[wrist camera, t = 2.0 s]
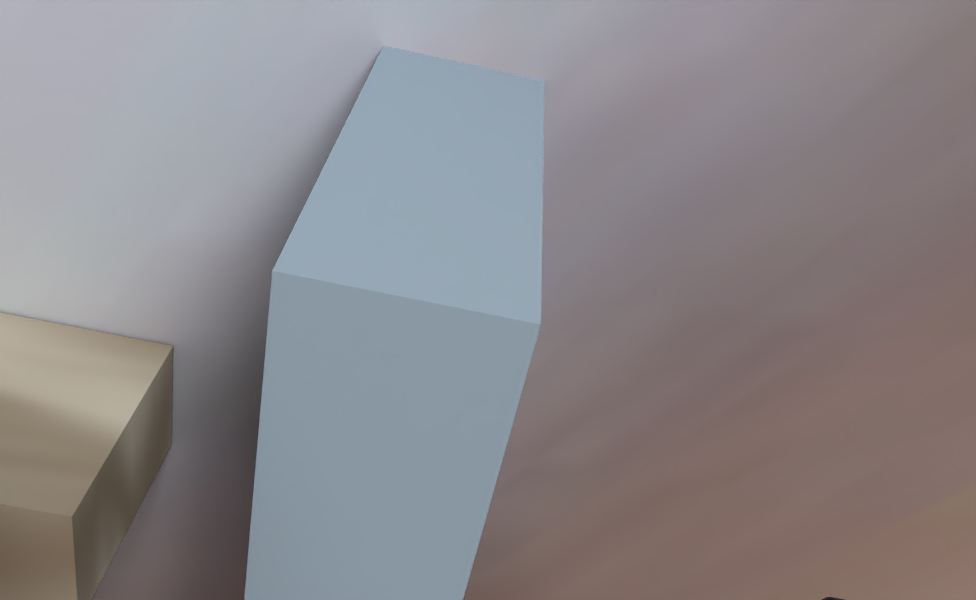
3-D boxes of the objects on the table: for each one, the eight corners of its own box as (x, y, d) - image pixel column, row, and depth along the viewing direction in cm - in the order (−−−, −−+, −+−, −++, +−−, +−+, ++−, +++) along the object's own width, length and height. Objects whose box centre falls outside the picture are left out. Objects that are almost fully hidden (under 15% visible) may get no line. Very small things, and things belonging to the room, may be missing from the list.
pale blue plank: (424, 573, 21) (376, 906, 15) (312, 553, 21) (220, 881, 15) (544, 79, 15) (541, 325, 9) (384, 43, 15) (272, 270, 9)
